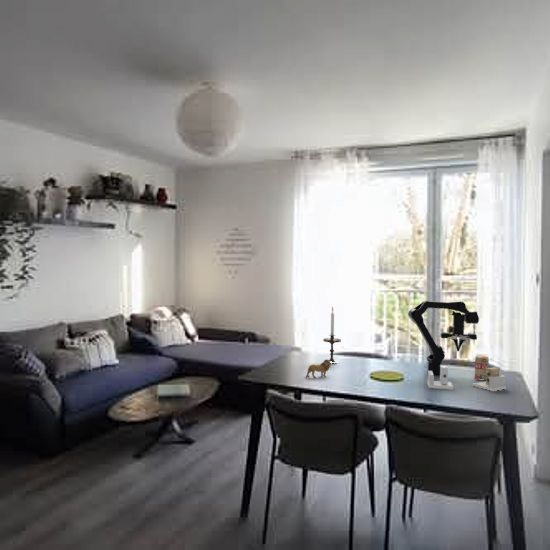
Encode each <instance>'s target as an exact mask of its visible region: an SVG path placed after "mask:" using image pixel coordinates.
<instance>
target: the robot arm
mask: <svg viewBox="0 0 550 550" xmlns="http://www.w3.org/2000/svg"><path fill="white" fill-rule="evenodd" d="M466 306H467V305H466V303H465V302H464V301H460V300H453V301H452V300H451V301H447V302H446V301H429V300H423V301H422V302H421V303H419V304H418V305H416V306H415V307H414V308H411V309H409V311H408V313H407V315H408V318H409V319H410V320H411V321H412V323H414V324H415V325H416V327H417V329H418V330H419V332H420V334H421V336H422V338H423V340H424V341H425V343H426V344H427V346H428V350H429V355H428V356H427V357H426V360H427V374H428V371H432V372H433V374H434V375H435V376H440V365H441V364H442V361H444V359H445V357H446V356H445V355H446V354H445V353H446V352H445V351H444V350H443V347H442V346H441V345H439V344H436V342H435V340H434V338H433V336H432V335H431V333H430V331H429V329H428V328H427V326H426V324H425V323H424V317H423V314H425V312H426V311H427V310H428V309H443V310H451V312H450V313H449V315H450V316H453V317H452V326H448V332H447V331H445V332H444V331H441V332H440V336H439V337H440V338H441V339H448V338H450V339H451V340H452V341H453V342H454V345H455V348H456V351H457V352H459V351H460V349H461V347H462V345H463V344H464V342H466V341H467V340H466V339H470V340H478V336H477V334H476V333H471V332H470V333H467V334H465V324H469V325H471V324H477V325H478V323H479V321H480V317H479V315H478V311H469V310H468V308H467V307H466Z"/></svg>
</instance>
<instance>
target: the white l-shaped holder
mask: <svg viewBox="0 0 550 550" xmlns="http://www.w3.org/2000/svg"><path fill="white" fill-rule="evenodd" d="M473 386H476V387H475V388H477V387H479V388H478V389H481V388H483V389H482V390H485V389H487V390H486V391H489V390H490V391H489V392H498V391H497V390H499V391H503V390H502V389H505V390H507V376H506V375H503V374H502V375H499V376H494V377H489V385H486V381H479V382H475V383H474V382H473V383H472V387H473Z"/></svg>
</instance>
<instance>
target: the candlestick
mask: <svg viewBox="0 0 550 550" xmlns="http://www.w3.org/2000/svg"><path fill="white" fill-rule="evenodd" d="M329 336H330V337H329V338H328V337H327V338H323V339H322V340H323V342H325V343H329V344H330V349H329V356H330V358H329V360H330V361H332V362H335V361H334V360H335V359H334V356H335V355H334V352H335V350H334V344H335V343H341V342H342V339H341V338H335V336H336V335H335V313H334V307H333V306H332V307H331V313H330V334H329Z"/></svg>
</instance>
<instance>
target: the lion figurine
mask: <svg viewBox="0 0 550 550" xmlns="http://www.w3.org/2000/svg"><path fill="white" fill-rule="evenodd" d="M331 365H332V364H331V363H330V359H324V360H323V362H321V364H310V365H309V366H308V369H307V373H306V376H305V377H306V378H308V377H310V374H311V376H312V378H314V379H316V378H317V377H316V375H315V373H316V372H318V373H320V376H321V377H324V378H327V376H326V372H328V371H329V370H330V368H331Z"/></svg>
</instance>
